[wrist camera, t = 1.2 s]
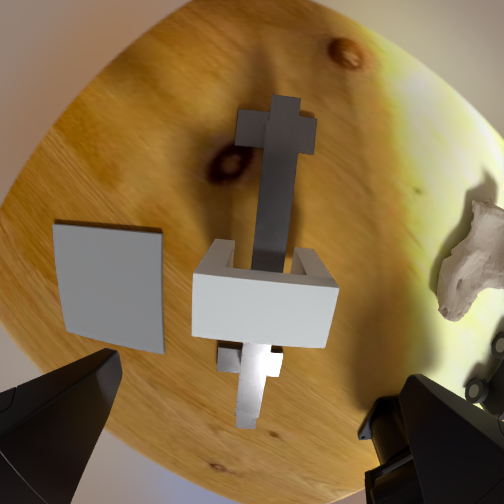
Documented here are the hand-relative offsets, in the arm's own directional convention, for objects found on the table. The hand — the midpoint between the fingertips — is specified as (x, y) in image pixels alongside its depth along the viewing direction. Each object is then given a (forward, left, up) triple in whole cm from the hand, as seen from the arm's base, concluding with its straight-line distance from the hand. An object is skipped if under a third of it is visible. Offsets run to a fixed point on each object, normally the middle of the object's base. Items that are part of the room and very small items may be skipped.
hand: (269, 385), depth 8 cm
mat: (-4, +12, -13) cm, 18 cm away
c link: (0, 0, -11) cm, 11 cm away
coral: (+2, -17, -13) cm, 22 cm away
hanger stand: (0, 0, -13) cm, 13 cm away
